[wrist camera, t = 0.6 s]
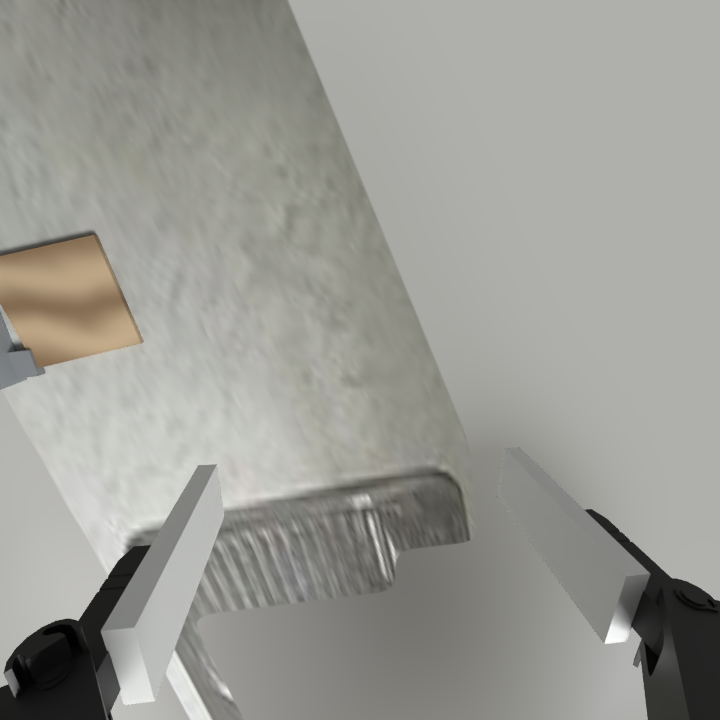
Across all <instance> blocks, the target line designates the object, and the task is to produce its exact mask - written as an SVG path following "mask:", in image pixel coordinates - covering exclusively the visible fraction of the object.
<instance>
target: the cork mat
mask: <svg viewBox="0 0 720 720" xmlns="http://www.w3.org/2000/svg"><path fill="white" fill-rule="evenodd" d="M0 304H1V306H2V307H3V309H4V311H5V313H6V315H7V316H8V318H9V320H10V322H11V324H12V325H13V327H14V329H15V331H16V333H17V335H18V336H19V338H20V340H21V342H22V344H23V345H24V347H25V349H26V350H32V352H33V355H34V357H35V360H36V363H37V365H38V368H40V367H44V366H49V365H53V364H57V363H61V362H65V361H69V360H74V359H78V358H82V357H86V356H90V355H94V354H99V353H103V352H107V351H111V350H115V349H119V348H124V347H128V346H132V345H136V344H140V343H143V339H142V337H141V335H140V332H139V330H138V328H137V326H136V323H135V321H134V319H133V316H132V314H131V312H130V310H129V307H128V305H127V303H126V300H125V298H124V296H123V293H122V291H121V289H120V287H119V284H118V282H117V280H116V277H115V275H114V273H113V271H112V268H111V266H110V264H109V261H108V259H107V257H106V254H105V252H104V250H103V248H102V245H101V243H100V241H99V238H98V236H97V235H91V236H86V237H82V238H78V239H73V240H69V241H64V242H60V243H56V244H51V245H47V246H42V247H38V248H33V249H29V250H25V251H20V252H16V253H11V254H7V255H3V256H0Z"/></svg>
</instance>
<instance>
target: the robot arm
mask: <svg viewBox="0 0 720 720" xmlns="http://www.w3.org/2000/svg"><path fill="white" fill-rule="evenodd" d="M497 497H498V499H499V500H500V502H501V503H502V504H503V506H504V507H505V508H506V510H507V511H508V512H509V514H510V515H511V517H512V518H513V519H514V521H515V522H516V524H517V525H518V526H519V528H520V529H521V530H522V532H523V533H524V535H525V536H526V537H527V539H528V540H529V541H530V543H531V544H532V545H533V547H534V548H535V550H536V551H537V552H538V553H539V555H540V556H541V558H542V559H543V561H544V562H545V563H546V565H547V566H548V567H549V569H550V570H551V572H552V573H553V574H554V576H555V577H556V578H557V580H558V581H559V583H560V584H561V585H562V587H563V588H564V589H565V591H566V592H567V593H568V595H569V596H570V597H571V599H572V600H573V602H574V603H575V604H576V606H577V607H578V608H579V610H580V611H581V613H582V614H583V616H584V617H585V618H586V620H587V621H588V622H589V624H590V625H591V626H592V628H593V629H594V631H595V632H596V633H597V635H598V636H599V637H600V639H601V640H602V642H603V643H604V644H608V643H617V642H624V641H627V639H628V636H629V633H630V631H631V628H632V627H633V629H634V630H635V631H636V632H637V633H638V635H639V636H640V637H641V638H642V639H641V642H640V645H639V648H638V650H637V653H636V656H635V659H634V663H633V665H634V666H636V667H638V665H639V663H640V661H641V664H642V673H643V681H644V690H645V698H646V707H647V716H648V720H720V601H717V600H714V599H713V598H712V597H711V596H710V595H709V594H708V593H706V592H705V591H703V590H702V589H700V588H699V587H697V586H695V585H693V584H690V583H689V582H686V581H683V580H679V579H672V578H671V577H670V576H669V575H667V574H666V573H665V572H664V571H663V570H662V569H661V568H660V567H659V566H658V565H657V564H655V563H654V562H653V561H652V560H651V559H650V558H649V557H648V556H647V555H646V554H645V553H644V552H642V551H641V550H640V549H639V548H638V547H637V546H636V545H635V544H634V543H633V542H630V540H629V539H628V538H627V537H626V536H625V535H624V534H623V533H621V532H619V530H618V529H617V528H616V527H615V526H614V525H613V524H612V523H611V522H610V521H609V520H608V519H606V518H605V517H603V516H602V515H600V514H598V513H596V512H595V511H593V510H592V509H589V510H584V509H583V508H582V507H581V506H580V505H579V504H578V503H577V502H576V501H574V500H573V498H571V497H570V496H569V495H568V494H567V493H566V492H565V491H564V490H563V489H562V488H561V487H560V486H559V485H558V484H557V483H556V482H555V481H554V480H553V479H552V478H551V477H550V476H549V475H548V474H547V473H546V472H545V471H544V470H542V468H540V467H539V466H538V465H537V464H536V463H535V462H534V461H533V460H532V459H531V458H530V457H529V456H528V455H527V454H526V453H525V452H524V451H523V450H522V449H521V448H519V447H518V448H505V449H504V454H503V461H502V467H501V473H500V480H499V486H498V492H497ZM223 518H224V512H223V505H222V497H221V490H220V483H219V476H218V469H217V465H199V466H198V467H197V469H196V470H195V472H194V474H193V475H192V477H191V479H190V481H189V482H188V484H187V486H186V487H185V489H184V491H183V492H182V494H181V496H180V497H179V499H178V501H177V503H176V504H175V506H174V508H173V509H172V511H171V513H170V514H169V516H168V518H167V519H166V521H165V523H164V525H163V526H162V528H161V530H160V531H159V533H158V535H157V536H156V538H155V540H154V541H153V543H152V545H147V546H135V547H133V548H132V549H131V550H130V551H129V552H128V553H126V554H125V555H124V556H123V557H122V558H121V559H120V560H119V561H118V562H117V564H116V565H115V567H114V568H113V570H112V571H111V573H110V574H109V576H108V579H106V580H105V582H104V583H103V585H102V586H101V588H100V591H99V592H98V593H97V594H96V595H95V597H94V598H93V600H92V601H91V603H90V604H89V606H88V607H87V609H86V610H85V612H84V613H83V615H82V616H81V618H80V619H79V621H77V620H73V619H63V620H58V621H55V622H53V623H51V624H48V625H46V626H44V627H42V628H40V629H39V630H37V631H36V632H34V633H33V634H32V635H30V636H29V637H27V638H26V639H25V640H24V641H23V642H22V643H21V644H20V645H19V646H18V647H17V648H16V649H15V650H14V652H13V654H12V655H11V657H10V658H9V659H8V661H7V663H6V667H5V671H4V675H5V677H6V679H7V681H8V685H6V686H3V687H1V688H0V720H113V718H112V715H111V712H110V711H111V709H112V707H113V705H114V702H115V700H116V698H117V696H118V694H119V692H120V693H121V697H122V700H123V703H124V705H129V704H137V703H144V702H153V701H155V699H156V696H157V694H158V691H159V688H160V686H161V683H162V680H163V678H164V675H165V672H166V670H167V667H168V664H169V662H170V659H171V657H172V654H173V651H174V649H175V646H176V643H177V641H178V638H179V635H180V633H181V630H182V627H183V625H184V622H185V619H186V617H187V614H188V611H189V609H190V606H191V603H192V601H193V598H194V595H195V593H196V590H197V587H198V585H199V582H200V579H201V577H202V574H203V571H204V569H205V566H206V563H207V561H208V558H209V555H210V553H211V550H212V547H213V545H214V542H215V539H216V537H217V534H218V531H219V529H220V526H221V524H222V521H223Z"/></svg>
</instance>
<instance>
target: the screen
mask: <svg viewBox="0 0 720 720" xmlns="http://www.w3.org/2000/svg"><path fill="white" fill-rule="evenodd" d="M44 373H45V371H44V368H43V367H40V368H38V365H37V363H36V360H35V357H34V355H33V352H32V350H26V349H24V350H15V348H14V346H13V343H12V341H11V338H10V336H9V333H8V331H7V328H6V326H5V323H4V321H3V318H2V316H1V313H0V390H1V389H3V388H6V387H8V386H11V385H14V384H16V383H19V382H21V381H24V380H26V377H33V376H39V375H42V374H44Z"/></svg>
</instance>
